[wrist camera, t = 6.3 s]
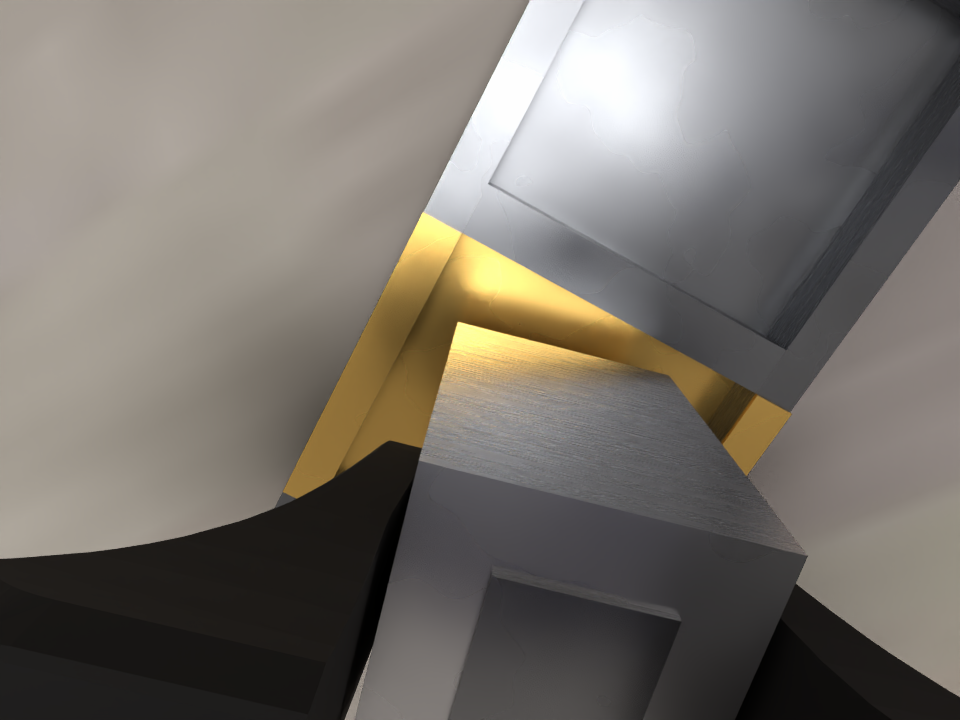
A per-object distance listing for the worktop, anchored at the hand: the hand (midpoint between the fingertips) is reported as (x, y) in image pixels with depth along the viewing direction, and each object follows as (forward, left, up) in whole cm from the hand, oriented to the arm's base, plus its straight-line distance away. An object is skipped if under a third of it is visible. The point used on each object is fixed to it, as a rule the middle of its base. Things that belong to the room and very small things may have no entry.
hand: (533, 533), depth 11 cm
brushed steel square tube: (0, -1, -2) cm, 2 cm away
